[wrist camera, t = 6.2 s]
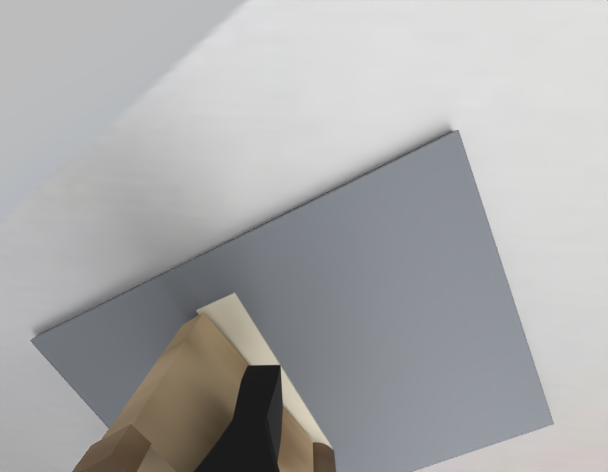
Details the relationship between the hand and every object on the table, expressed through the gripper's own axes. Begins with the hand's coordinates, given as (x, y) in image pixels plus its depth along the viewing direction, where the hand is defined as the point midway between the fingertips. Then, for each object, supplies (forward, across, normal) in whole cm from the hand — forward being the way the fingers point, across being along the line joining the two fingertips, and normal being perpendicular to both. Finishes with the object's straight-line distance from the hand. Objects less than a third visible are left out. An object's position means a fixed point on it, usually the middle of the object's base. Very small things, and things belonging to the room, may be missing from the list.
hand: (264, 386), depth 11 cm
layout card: (+3, -1, +3) cm, 4 cm away
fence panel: (+2, +1, +2) cm, 4 cm away
